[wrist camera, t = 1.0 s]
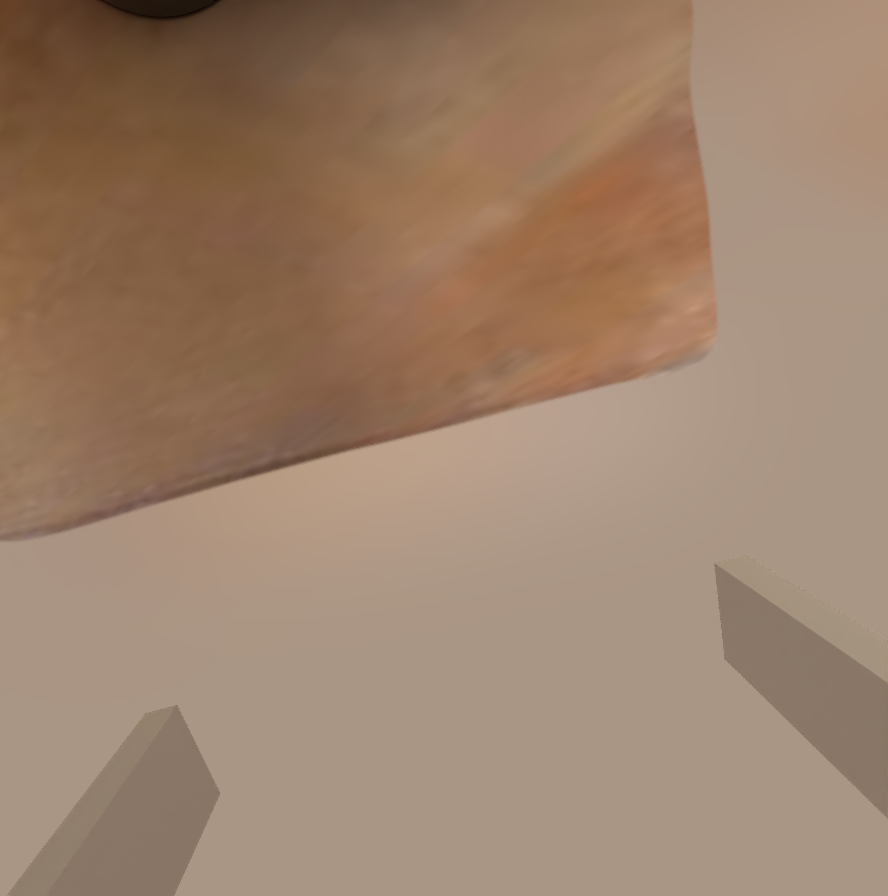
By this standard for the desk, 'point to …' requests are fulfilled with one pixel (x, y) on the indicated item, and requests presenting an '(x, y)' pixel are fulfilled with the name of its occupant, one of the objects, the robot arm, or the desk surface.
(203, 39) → the desk surface
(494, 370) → the desk surface
